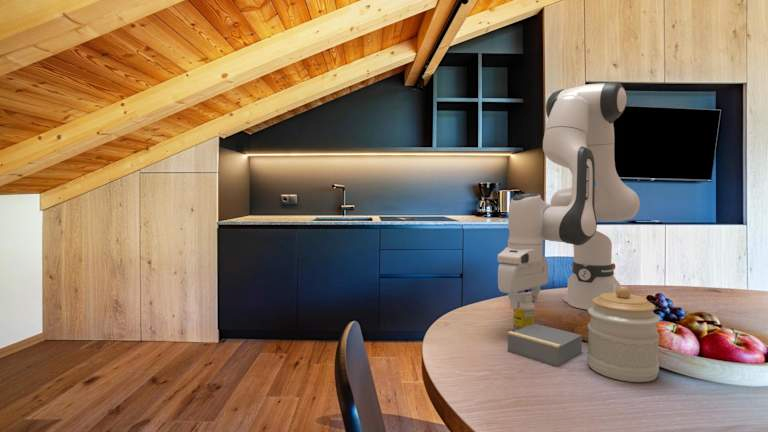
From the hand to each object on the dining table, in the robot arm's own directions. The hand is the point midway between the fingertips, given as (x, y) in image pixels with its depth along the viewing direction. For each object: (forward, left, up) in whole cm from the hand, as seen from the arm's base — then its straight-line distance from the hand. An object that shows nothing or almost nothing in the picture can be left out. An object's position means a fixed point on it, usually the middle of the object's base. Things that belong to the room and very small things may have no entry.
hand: (524, 305), depth 109 cm
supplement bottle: (-1, 0, -7) cm, 7 cm away
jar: (+7, +26, -7) cm, 28 cm away
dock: (+9, +11, -7) cm, 16 cm away
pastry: (-9, +13, -8) cm, 18 cm away
